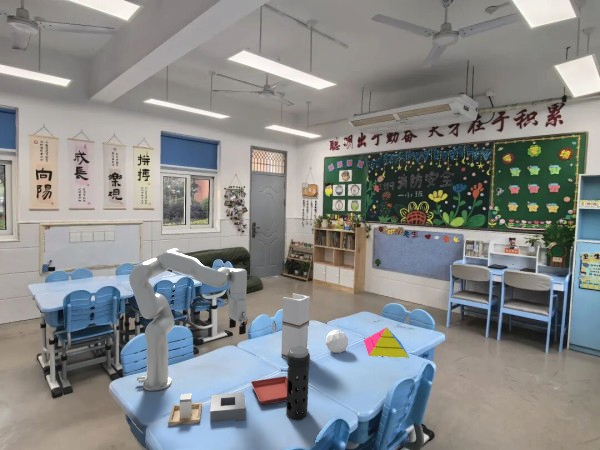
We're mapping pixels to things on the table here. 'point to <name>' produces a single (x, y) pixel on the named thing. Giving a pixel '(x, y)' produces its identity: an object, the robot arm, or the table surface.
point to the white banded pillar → (295, 322)
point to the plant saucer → (271, 389)
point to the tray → (176, 420)
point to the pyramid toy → (384, 345)
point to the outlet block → (227, 407)
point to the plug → (185, 405)
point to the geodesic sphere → (336, 341)
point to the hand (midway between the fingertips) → (237, 330)
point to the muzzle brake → (297, 382)
